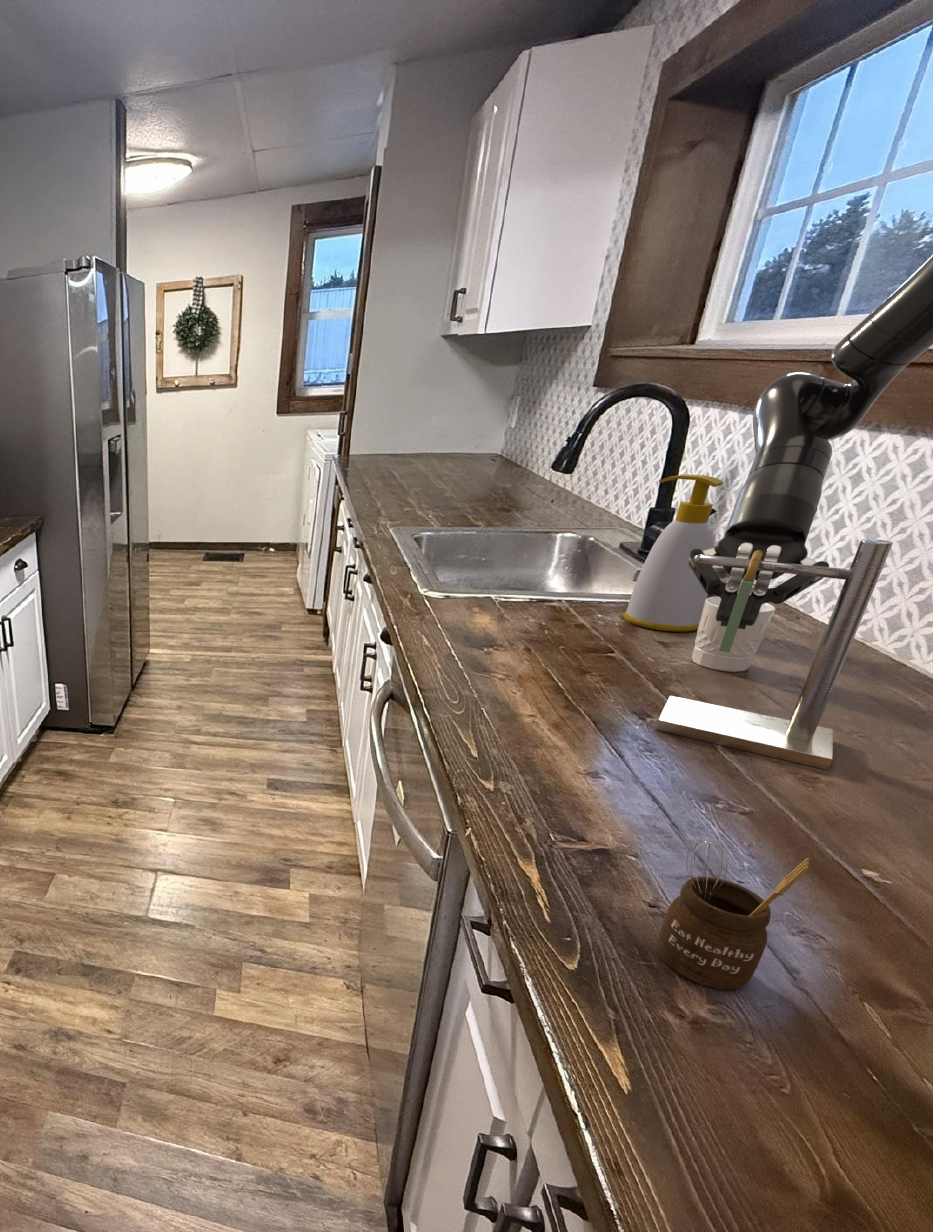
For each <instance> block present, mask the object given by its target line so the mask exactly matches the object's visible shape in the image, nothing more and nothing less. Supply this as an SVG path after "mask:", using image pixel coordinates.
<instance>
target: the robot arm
mask: <svg viewBox="0 0 933 1232" xmlns="http://www.w3.org/2000/svg"><path fill="white" fill-rule="evenodd" d="M932 346H933V254H932V255H931V256H930V257H929V258H928V259H927V260H926V261H925V262H924V263H923V264H922V265H921V266H920V267H919V268H918V269H917V270H916V271H915V272H914V273H913V274H912V275H911V276H910V277H909V278H908V279H906V280H905V281H904V283H902V284H901V285H900V286H899V287H898V288H897V289H896V290H894V292H892V293H891V294H890V295H889V296H888V297H887V298H886V299H884V301H882V303H881V304H879V305H878V306H877V307H876V308H875V309H874V310H872V312H870V313H869V314H868V315H867V316H866V317H865V318H864V319H862V320H861V322H859V324H857V325H856V326H855V327H854V328H853V329H852V330H851V331H849V332H848V333H847V334H846V336H844V337H843V338H842V339H841V340H840V341H838V343H837V344H836V345H835V346H834V348H833V349H832V351H831V353H830V361H831V363H832V364H833V366H834V367H835V368H836V369H837V370H838V371H839V372H840V373H842V374H844V375H845V376H847V377H848V378H850V379H851V380H852V381H851V382H850V383H848V384H847V383H843V382H839V381H837V380H832V379H829V378H825V377H821V376H819V375H815V374H812V373H807V372H791V373H788V374H785V375H783V376H779V378H777V379H775V380H774V381H772V382H771V383H770V384H768V386H767V387H765V389H764V390H763V391H762V392H761V394H760V395H759V397H758V399H757V401H756V403H755V405H754V408H753V414H752V430H753V438H754V439H753V442H754V443H753V444H754V453H755V456H754V459H753V462H752V463H751V467H750V469H749V472H748V475H747V478H746V480H745V482H744V484H743V485H742V487H741V489H740V491H739V493H738V495H737V499H736V501H735V503H734V505H733V509H732V512H731V515H730V518H729V520H728V522H727V525H726V529H725V532H724V535H723V536H722V538H721V539H720V540H718V541H717V542H716V543H715V544H714V548H711V549H708V550H704V551H702V550H701V549H693V550H692V551H691V552H690V557H689V562H688V564H689V566H690V567H691V569H692V570H693V572H694V574H695V575H696V577H697V579H698V580H699V582H700V584H701V585H702V587H703V589H704V590H705V592H706V593H707V594H708V595H709V596H715V597H720V598H721V602H720V605H719V607H718V610H717V613H716V621H721V625H720V626H726V627H727V625H728V622H729V619H730V616H731V613H732V610H733V607H734V604H735V601H736V598H737V595H738V592H739V589H740V587H741V584H742V581H743V578H744V576H745V573H746V572H747V570H748V569H742V568H733V567H724V566H721V568H723V570H724V572H725V573H726V574H728V575H729V576H728V579H727V582H724V581H722V579H721V578H720V577H719V575H718V574H717V572H716V570H715V568H714V566H713V567H712V565H706V564H697V563H695V562H694V557H695V556H696V555H699V554H704V555H714V556H723V557H733V558H743V559H751V558H752V556H753V553H754V552H755V551H757V550H761V551H762V552H763V554H762V557H761V560H763V561H773V562H782V563H792V564H802V565H812V566H822V567H830V564H829V562H827V561H825V560H824V561H823V560H820V561H816V560H814V559H812V558H811V557H808V554H809V552H808V549H807V548H806V542H807V539H808V536H809V533H810V531H811V529H812V528H811V527H812V524H813V522H814V519H815V516H816V514H817V512H818V507H819V503H820V500H821V498H822V491H823V483H824V479H825V477H826V474H827V471H828V468H829V465H830V462H831V459H832V456H833V446H832V443H831V442H830V441H832V440H835V439H838V438H841V437H843V436H845V435H847V434H848V433H850V432H852V430H854V429H855V428H856V427H857V426H858V425H859V424H860V422H861V421H862V420H863V419H864V417H865V416H866V415H867V414H868V413H869V411H870V409H871V408H872V407H873V406H874V403H876V401H877V400H878V398H879V397H880V396H881V394H882V393H883V392H884V391H885V390H886V388H887V387H888V386H889V385H890V384H891V383H892V382H893V380H894V379H895V378H896V377H897V376H898V375H899V374H900V373H901V372H902V371H903V370H904V369H906V367H908V366H909V365H911V363H912V362H913V361H915V360H917V358H918V357H920V356H921V355H922V354H923V353H925V352H926V351H927V350H928V349H930V348H931V347H932ZM756 573H757V575H756V578H755V580H754V581H755V584H754V587H753V588H752V589H753V590H751V592H750V595H749V598H748V600H747V603H746V606H745V609H744V612H743V615H742V618H741V621H740V623H739V626H738V628H739V629H745V627H746V625H749V626H752V625H753V624H754V623H755V622H756V619H757V617H758V614H759V611H760V608H761V605H762V604H764V603H768V604H769V603H772V604H775V605H779V604H784V603H785V602H786V601H788V600H790V599H791V598H793V597H794V596H796V595H798V594H800V593H802V592H803V591H805V590H806V589H808V588H810V587H811V586H814V585H815V584H816V583H818V582H820V581H821V580H823V579H824V578H825V577H816V576H807V575H797V574H794V575H793V576H792V577H790V578H789V579H788V578H787V580H785V581H783V582H782V583H780V584H778V585H777V586H775V587H770V584H771V581H772V580H775V579H777V578H779V577H782V576H783V575H784V574H785V573H779V572H770V571H761V570H757V571H756Z"/></svg>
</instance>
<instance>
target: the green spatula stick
mask: <svg viewBox="0 0 933 1232" xmlns="http://www.w3.org/2000/svg"><path fill="white" fill-rule="evenodd" d="M762 554H763V552H762V551H761V550H757V551H755V552H754V553H753V556H752V558H751V561H750V564H749V567H748V570H747V572H746V573H745V576H744V578H743V579H742V582H741V584H740V587H739V590H738V593H737V594H738V595H737V598H736V601H735V604H734V607H733V610H732V613H731V616H730V619H729V622H728V625H727V628H726V631H725V634H724V637H723V639H722V642H721V645H720V648H719V651H722V652H728V653H729V652H730V649H731V647H732V644H733V641H734V638H735V635H736V632H737V630H738V626H739V623H740V621H741V618H742V615H743V612H744V609H745V606H746V603H747V600H748V598H749V596H751V593H752V589H753V586H754V583H755V581H756V580H755V578H756V575H757V573H756V571H757V568H758V565H759V562H760V560H761V557H762Z"/></svg>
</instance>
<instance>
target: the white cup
mask: <svg viewBox="0 0 933 1232" xmlns="http://www.w3.org/2000/svg"><path fill="white" fill-rule="evenodd" d="M720 602H721V598H720V597H719V596H710V597H707V599H706V600H705V604H704V608H703V611H702V615H701V619H700V623H699V627H698V629H697V630H696V631H697V632H696V637H695V641H694V648H693V651H692V654H691V661H692V662H693V663H695V664H697V665H699V666H701V667H705V668H706V669H707V668H708V669H710V670H716V671H721V672H729V673H730V672H732V673H738V672H746V671H747V670H749V668H750V666H751V665H752V662H753V659H754V656H755V655H756V654H757V652H758V650H759V648H760V644H761V643H762V641H763V639H764V636H765V634H766V632H767V630H768V628H769V625H770V622H771V621H772V618H773V616H774V613H775V611H776V607H775V606H774V605H772V604H770V603H769V602H768V603H764V604H762V605H761V608H760V611H759V614H758V617H757V619H756V622H755V623H754V624H753V625H752V626H749V625H746V627H745V629H739V628H738V630H737V632H736V635H735V638H734V641H733V644H732V647H731V649H730V652H729V653H728V652H722V651H719V648H720V645H721V642H722V639H723V637H724V634H725V631H726V628H727V627H726V626H720V625H721V621H716V613H717V610H718V607H719V605H720Z"/></svg>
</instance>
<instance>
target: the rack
mask: <svg viewBox="0 0 933 1232" xmlns="http://www.w3.org/2000/svg"><path fill="white" fill-rule="evenodd" d="M893 544H894V542H893V541H890V540H885V539H877V538H862V539H861V540H860V541H859V544H858V547H857V549H856V552H855V554H854V557H853V559H852V562H851V565H850V567H849V568H840V567H831V566H829V567H822V566H812V565H802V564H792V563H782V562H773V561H763V560H760V562H759V565H758V568H757V570H761V571H770V572H779V573H784V574H790V575H796V574H797V575H807V576H816V577H824V578H825V579H835V580H843V581H844V582H843V585H842V587H841V590H840V593H839V595H838V597H837V600H836V603H835V605H834V607H833V611H832V613H831V615H830V618H829V620H828V623H827V624H826V625H827V626H826V628H825V630H824V633H823V636H822V638H821V641H820V644H819V645H818V648H817V651H816V653H815V656H814V659H813V661H812V663H811V666H810V669H809V671H808V673H807V676H806V678H805V681H804V684H803V687H802V689H801V691H800V695H799V696H798V699H797V700H796V701H797V702H796V704H795V707H794V709H793V712H792V715H791V717H790V719H785V718H781V717H777V716H776V717H775V716H771V715H766V714H761V713H756V712H752V711H747V710H742V709H737V708H734V707H733V708H732V707H727V706H722V705H717V704H713V703H708V702H703V701H699V700H693V699H688V698H684V697H679V696H674V695H669V696H668V698H667V699H666V702H665V704H664V707H663V709H662V711H661V713H660V714H659V716H658V719H657V722H656V725H655V728H654V730H655V731H660V732H664V733H667V734H672V735H677V736H682V737H686V738H690V739H694V740H698V741H702V742H706V743H710V744H715V745H719V746H722V747H723V746H724V747H728V748H730V749H731V748H733V749H736V750H740V751H745V752H749V753H752V754H753V753H754V754H757V755H762V756H765V757H769V758H770V757H771V758H775V759H778V760H783V761H787V762H792V763H796V764H799V765H803V766H804V765H805V766H809V767H811V768H812V767H813V768H817V769H822V770H826V771H829V769H830V767H831V765H832V762H833V758H834V729H833V728H829V727H823V726H819V723H820V722H821V719H822V716H823V715H824V712H825V709H826V707H827V704H828V702H829V700H830V698H831V694H832V692H833V690H834V687H835V685H836V682H837V680H838V677H839V676H840V673H841V670H842V668H843V666H844V663H845V661H846V658H847V656H848V653H849V651H850V648H851V646H852V644H853V642H854V639H855V636H856V634H857V632H858V630H859V627H860V625H861V622H862V619H863V617H864V615H865V612H866V609H867V608H868V605H869V603H870V600H871V598H872V595H873V592H874V591H875V588H876V586H877V583H878V581H879V578H880V576H881V574H882V571H883V568H884V566H885V563H886V561H887V559H888V557H889V554H890V551H891V549H892V546H893ZM750 561H751V559H743V558H733V557H723V556H714V555H704V554H699V555H696V556H695V557H694V562H695V563H697V564H706V565H713V566H716V567H722V566H724V567H733V568H742V569H748V567H749V564H750Z"/></svg>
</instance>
